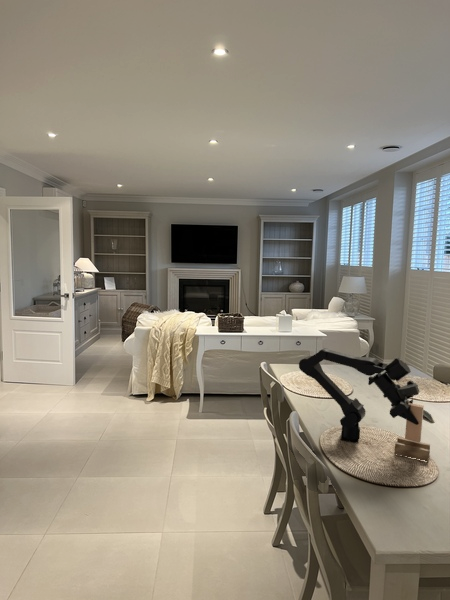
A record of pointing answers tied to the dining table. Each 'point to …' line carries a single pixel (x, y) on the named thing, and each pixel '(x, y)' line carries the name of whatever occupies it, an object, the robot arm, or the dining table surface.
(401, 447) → the tan u-shaped channel
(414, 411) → the clay block
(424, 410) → the ceramic fragment
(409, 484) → the dining table surface
